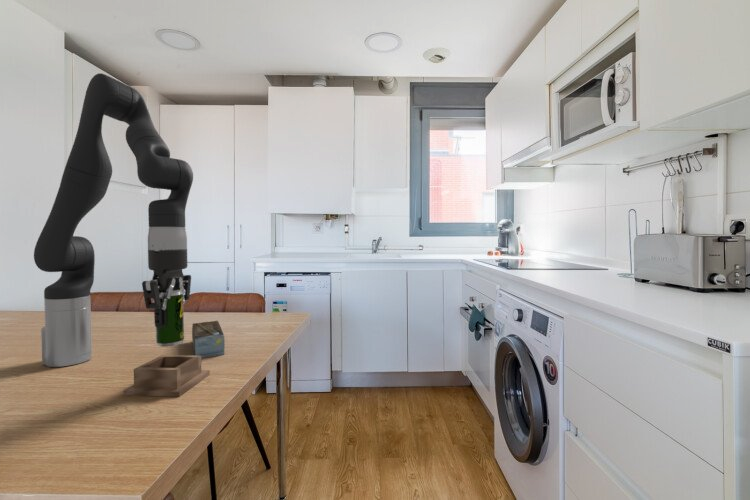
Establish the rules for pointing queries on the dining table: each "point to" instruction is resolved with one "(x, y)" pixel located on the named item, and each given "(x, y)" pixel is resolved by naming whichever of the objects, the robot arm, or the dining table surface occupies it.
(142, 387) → the walnut holder
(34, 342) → the dining table surface
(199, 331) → the beverage carton
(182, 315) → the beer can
